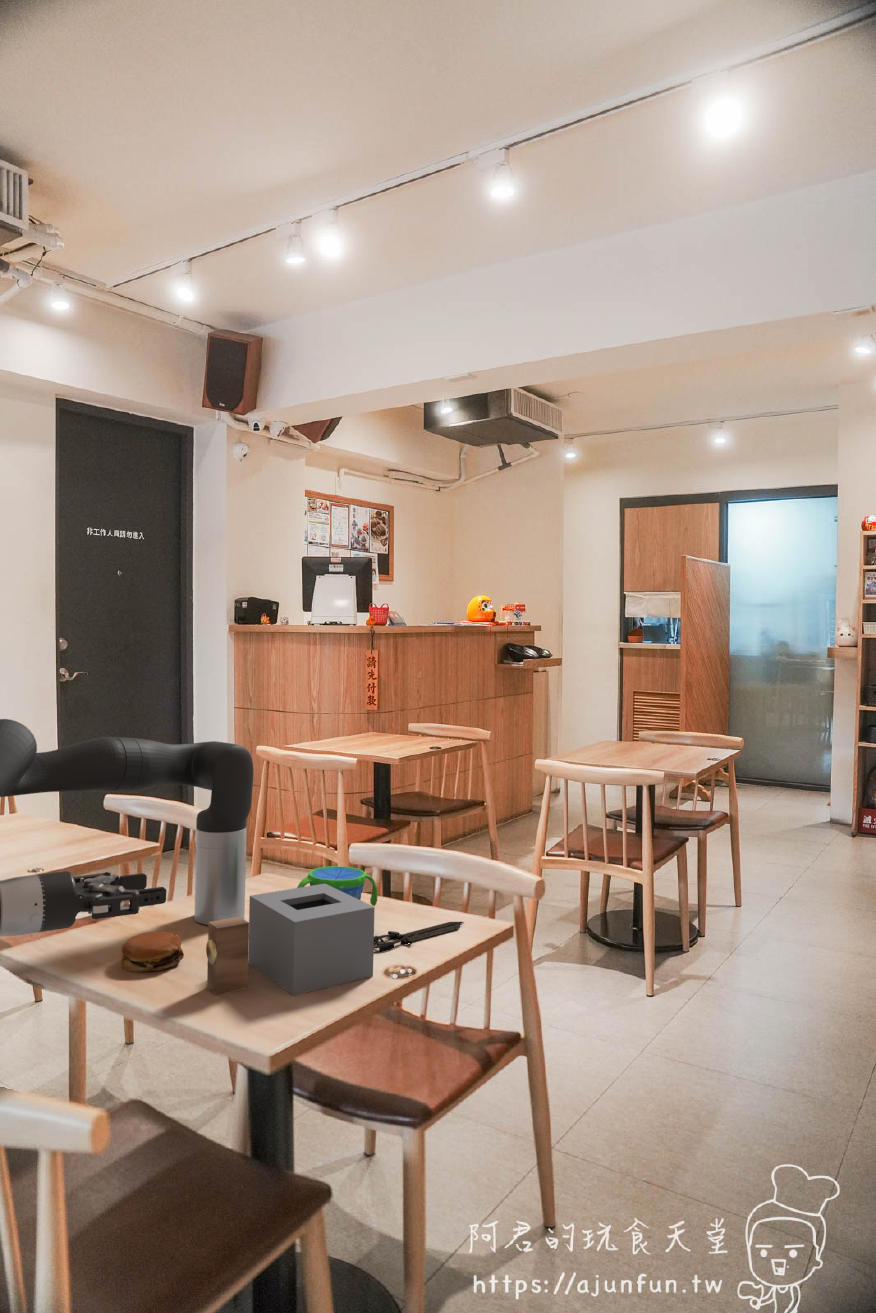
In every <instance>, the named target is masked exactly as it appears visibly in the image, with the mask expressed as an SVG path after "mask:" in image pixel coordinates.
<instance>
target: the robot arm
mask: <svg viewBox="0 0 876 1313" xmlns="http://www.w3.org/2000/svg"><path fill="white" fill-rule="evenodd" d="M37 747H38V744H37V740H36V738H35V735H34V734H33V733H32V731H31V730H30V729H29V728H28V727H27V726H26V725H25V724H22V723H21V722H18V721H16V720H13V719H7V718H0V798H6V797H14V796H15V797H16V796H22V795H23V796H24V795H32V794H41V793H54V792H55V793H60V792H61V793H62V792H63V793H64V792H65V793H66V792H68V793H69V792H72V793H73V792H74V793H75V792H107V793H108V792H112V793H113V792H117V793H119V792H136V791H144V790H148V789H151V788H154V787H158V786H163V785H179V786H181V785H182V786H190V787H195V788H200V789H204V790H208V791H210V792H211V793H210V794H211V795H210V804H209V805H208V808H206V809H203V810H201V811H199V812H198V813H197V815H196V819H195V820H196V826H195V827H196V829H195V830H196V831H195V832H196V834H195V878H194V881H195V882H194V883H195V884H194V885H195V886H194V917H193V918H194V921H195V922H196V923H199V924H202V925H206V926H208V922H212V921H217V920H223V919H229V918H235V917H241V918H242V919H244V920H245V915H246V914H245V913H246V912H245V910H246V908H245V907H246V906H245V905H246V877H247V875H246V872H247V871H246V870H247V869H246V868H247V867H246V866H247V826H248V824H247V823H248V822H247V821H248V818H249V814H250V813H251V808H252V800H253V787H254V786H253V785H254V762H253V758H252V755H251V752H250V751H249V750H248V749H247V748H246V747H244V745H240V744H235V743H230V742H223V741H214V740H213V741H212V740H211V741H204V742H203V741H201V742H192V743H177V744H176V743H165V742H160V741H155V740H151V739H145V738H136V737H124V736H123V737H119V736H101V737H96V738H95V737H94V738H91V739H86V740H84V741H80V742H77V743H73V744H71V745H67V746H65V747H60V748H57V749H55V750H49V751H43V752H42V751H41V752H38V748H37ZM147 877H148V876H147V874H145V873H133V874H126V875H119V874H116V873H114V874H112V873H111V872H108V871H105V872H101V873H93V874H86V875H77V876H74V875H73V874H72V872H70V871H68V870H65V871H58V872H57V871H55V872H48V873H39V874H30V875H22V876H21V875H20V876H15V877H9V878H5V879H2V880H0V937H17V936H23V935H25V936H26V935H31V934H37V933H44V932H50V931H57V930H58V931H59V930H62V929H69V928H71V927H73V926H74V924H75V922H76V917H77V916H78V914H79V913H88V914H89V915H91V920H99V919H106V918H115V917H123V916H131V915H137V914H139V911H140V908H141V907H142V908H143V907H149V906H155V905H161V904H165V903H166V901H167V889H166V888H165V887H164V886H157V887H156V886H155V887H150V888H147V886H148V885H147V884H148V881H147V880H148V878H147ZM124 901H128V902H129V903H124Z"/></svg>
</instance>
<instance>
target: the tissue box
mask: <svg viewBox="0 0 876 1313" xmlns="http://www.w3.org/2000/svg"><path fill="white" fill-rule="evenodd" d="M248 908H249V911H248V912H249V914H248V916H249V917H248V918H249V919H248V922H249V944H248V964H250V965H251V966H252V967H253V968H255V969H256V970H258V971H260V972H261V973H262V974H264V975H265V976H266V977H267V978H269V979H270V980H271V981H273V982H274V983H276V984H277V985H278V986H280V987H281V988H283V989H284V990H285V991H286V992H287V993H289V994H290V995H292V996H296V995H301V994H305V993H308V992H313V991H316V990H317V991H318V990H321V989H325V988H328V987H329V988H330V987H335V986H337V985H342V984H346V983H350V982H355V981H359V980H363V979H368V978H371V977H370V976H372V977H374V950H375V949H374V946H375V944H374V937H375V906H373V905H371V904H368V903H366V902H364V901H362V900H361V899H360V900H358V899H356V898H354V897H352V896H350V895H348V894H346V893H344V892H342V891H340V890H338V889H335V888H333V887H331V886H329V885H327V884H319V885H313V886H310V885H308V886H307V885H306V886H304V887H300V888H297V887H295V888H289V889H284V890H277V891H270V892H263V893H259V894H252V895H249V907H248Z"/></svg>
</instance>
